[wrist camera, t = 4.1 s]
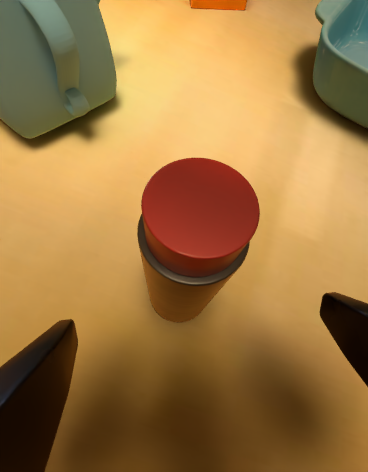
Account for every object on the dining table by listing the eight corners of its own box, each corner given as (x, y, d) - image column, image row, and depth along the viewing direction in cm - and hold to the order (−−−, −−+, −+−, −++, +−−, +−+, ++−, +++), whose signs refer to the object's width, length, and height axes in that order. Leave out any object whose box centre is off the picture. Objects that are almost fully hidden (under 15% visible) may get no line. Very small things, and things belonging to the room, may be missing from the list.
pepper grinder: (194, 332, 19) (247, 293, 7) (139, 307, 19) (104, 232, 8) (215, 278, 21) (282, 178, 9) (164, 256, 21) (167, 134, 10)
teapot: (135, 64, 32) (120, -112, 20) (101, 162, 25) (45, -21, 13) (-7, 42, 32) (-110, -150, 20) (-83, 134, 25) (-317, -79, 13)
